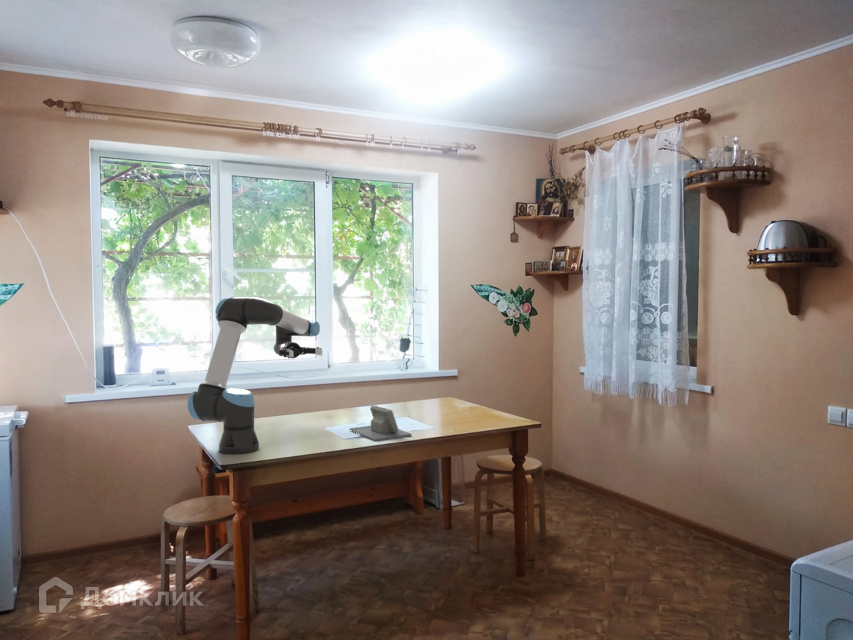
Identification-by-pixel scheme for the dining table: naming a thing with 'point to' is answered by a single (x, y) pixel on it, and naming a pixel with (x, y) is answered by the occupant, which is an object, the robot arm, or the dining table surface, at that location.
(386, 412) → the digital clock
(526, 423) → the dining table surface
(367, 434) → the docking pad
